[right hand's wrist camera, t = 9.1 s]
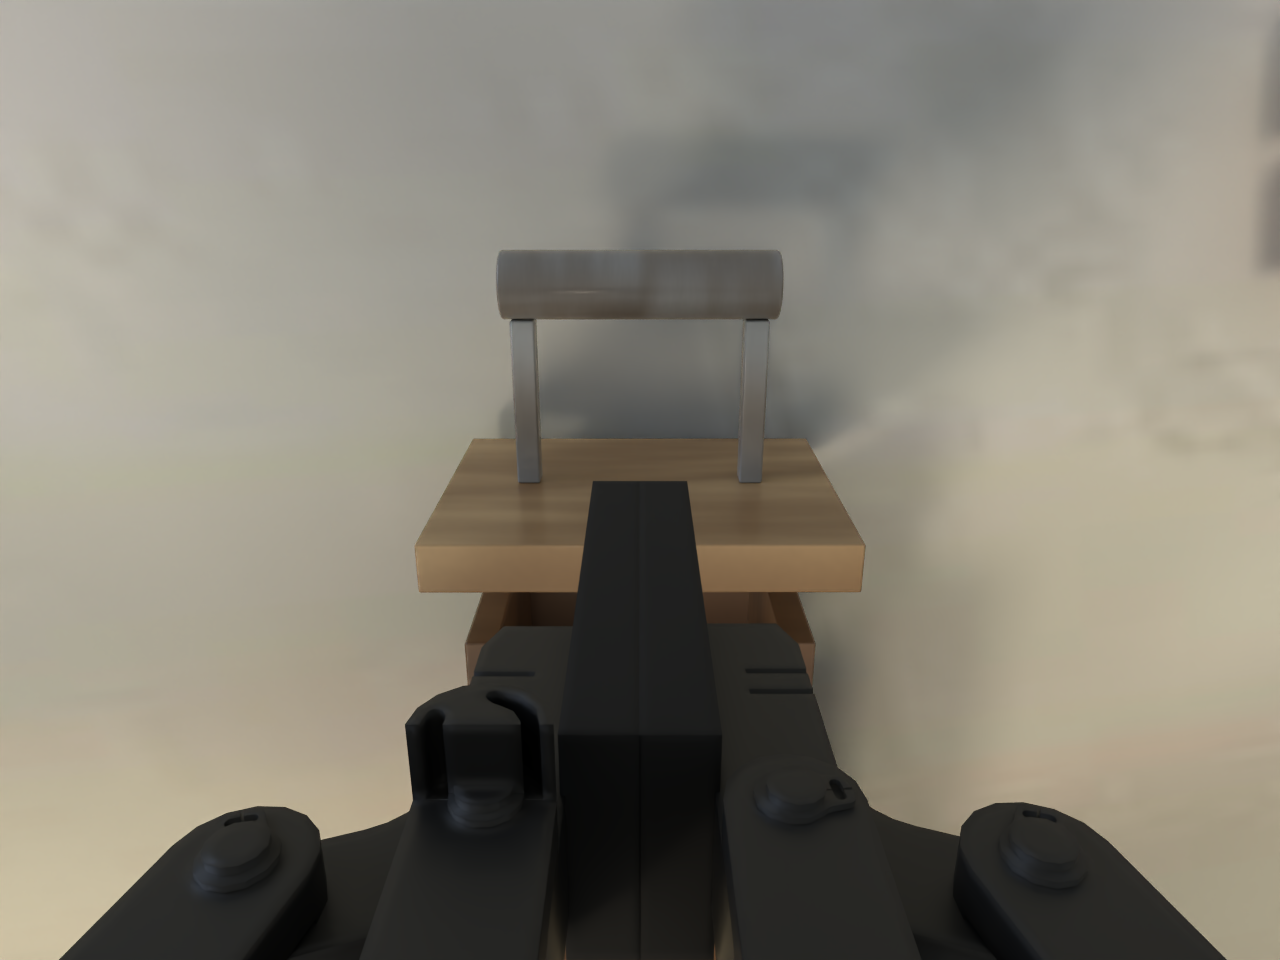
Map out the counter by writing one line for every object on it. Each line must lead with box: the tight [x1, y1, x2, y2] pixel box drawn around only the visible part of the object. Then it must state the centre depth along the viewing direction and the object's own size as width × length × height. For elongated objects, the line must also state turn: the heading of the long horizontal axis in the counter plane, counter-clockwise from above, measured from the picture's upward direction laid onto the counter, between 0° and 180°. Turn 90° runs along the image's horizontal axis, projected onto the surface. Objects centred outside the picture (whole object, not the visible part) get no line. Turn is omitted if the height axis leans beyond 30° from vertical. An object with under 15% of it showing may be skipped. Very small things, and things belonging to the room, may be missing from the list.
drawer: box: [415, 250, 865, 685], centre depth 26 cm, size 26×10×8 cm, turn 0°
